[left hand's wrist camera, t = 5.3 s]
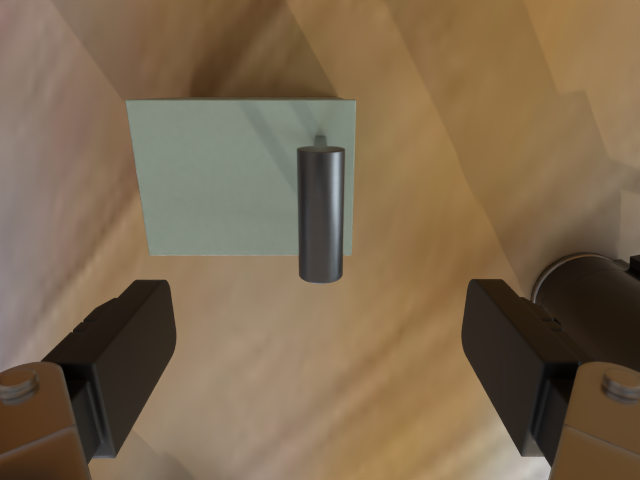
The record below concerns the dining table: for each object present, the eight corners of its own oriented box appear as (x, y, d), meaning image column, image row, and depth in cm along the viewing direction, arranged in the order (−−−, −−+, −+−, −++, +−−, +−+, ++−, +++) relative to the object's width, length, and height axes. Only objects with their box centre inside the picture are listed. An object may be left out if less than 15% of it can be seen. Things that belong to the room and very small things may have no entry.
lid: (354, 99, 25) (373, 103, 16) (350, 249, 29) (364, 319, 20) (132, 99, 25) (32, 103, 16) (155, 249, 29) (82, 319, 20)
